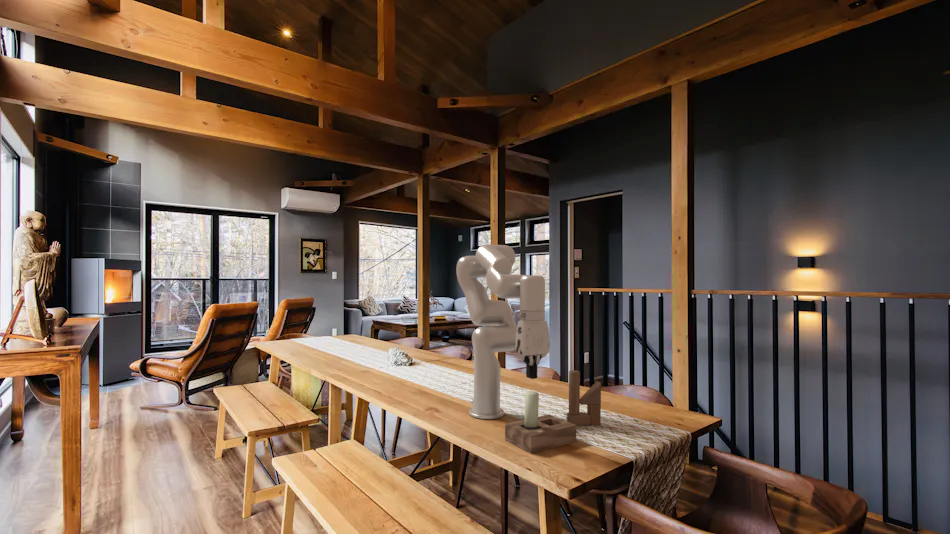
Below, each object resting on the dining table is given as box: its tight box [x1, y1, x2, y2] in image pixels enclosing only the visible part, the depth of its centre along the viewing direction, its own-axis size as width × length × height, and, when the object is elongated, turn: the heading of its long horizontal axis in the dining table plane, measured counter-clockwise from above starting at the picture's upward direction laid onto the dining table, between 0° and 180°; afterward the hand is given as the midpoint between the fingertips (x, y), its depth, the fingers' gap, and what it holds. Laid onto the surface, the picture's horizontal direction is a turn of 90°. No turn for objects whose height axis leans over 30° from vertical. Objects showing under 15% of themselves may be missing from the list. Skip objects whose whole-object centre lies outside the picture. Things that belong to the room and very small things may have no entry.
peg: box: [524, 390, 540, 431], centre depth 134 cm, size 4×4×14 cm
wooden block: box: [566, 369, 602, 427], centre depth 153 cm, size 4×11×18 cm, turn 98°
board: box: [504, 414, 577, 455], centre depth 136 cm, size 12×18×5 cm, turn 124°
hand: (531, 377), depth 134 cm, fingers closed
